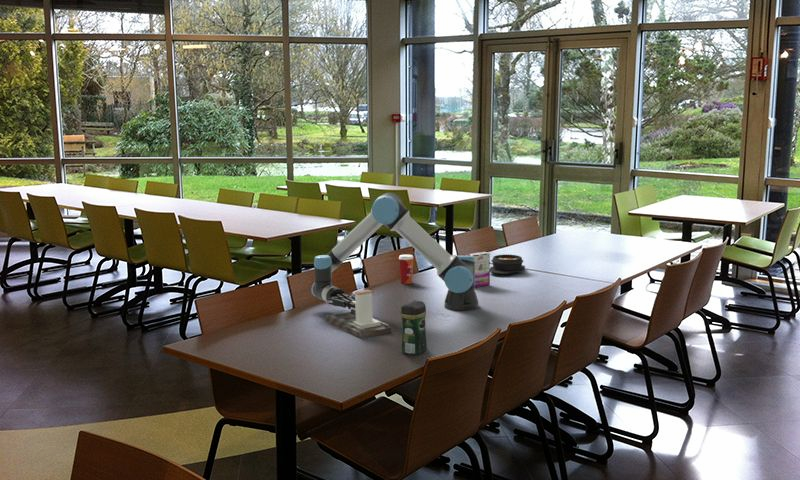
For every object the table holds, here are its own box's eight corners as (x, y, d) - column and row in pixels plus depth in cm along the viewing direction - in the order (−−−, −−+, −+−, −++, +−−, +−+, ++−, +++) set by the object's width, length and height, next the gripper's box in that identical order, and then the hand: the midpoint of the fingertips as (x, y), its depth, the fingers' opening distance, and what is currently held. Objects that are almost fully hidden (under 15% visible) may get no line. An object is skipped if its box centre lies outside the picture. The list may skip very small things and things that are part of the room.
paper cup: (412, 284, 392) (412, 257, 389) (397, 284, 393) (397, 256, 391) (415, 281, 399) (414, 254, 397) (400, 280, 401) (400, 253, 399)
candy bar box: (484, 283, 392) (484, 251, 390) (490, 285, 388) (490, 253, 385) (465, 286, 387) (465, 253, 385) (470, 288, 383) (471, 255, 380)
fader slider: (352, 324, 314) (351, 292, 311) (371, 321, 318) (371, 289, 316) (361, 329, 308) (360, 295, 305) (380, 325, 312) (380, 292, 310)
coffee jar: (411, 346, 293) (410, 298, 289) (429, 349, 288) (429, 300, 285) (397, 353, 284) (397, 303, 281) (416, 356, 280) (416, 306, 277)
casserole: (511, 278, 403) (512, 262, 401) (480, 274, 413) (480, 259, 412) (533, 270, 423) (533, 254, 421) (502, 266, 433) (503, 251, 432)
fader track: (325, 320, 328) (325, 313, 328) (354, 315, 336) (354, 308, 335) (360, 338, 303) (360, 330, 303) (391, 332, 311) (391, 324, 310)
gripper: (347, 302, 338) (374, 314, 319) (320, 306, 332) (346, 318, 312) (347, 285, 337) (374, 296, 317) (319, 289, 330) (346, 300, 311)
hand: (360, 307), depth 315 cm, fingers closed
